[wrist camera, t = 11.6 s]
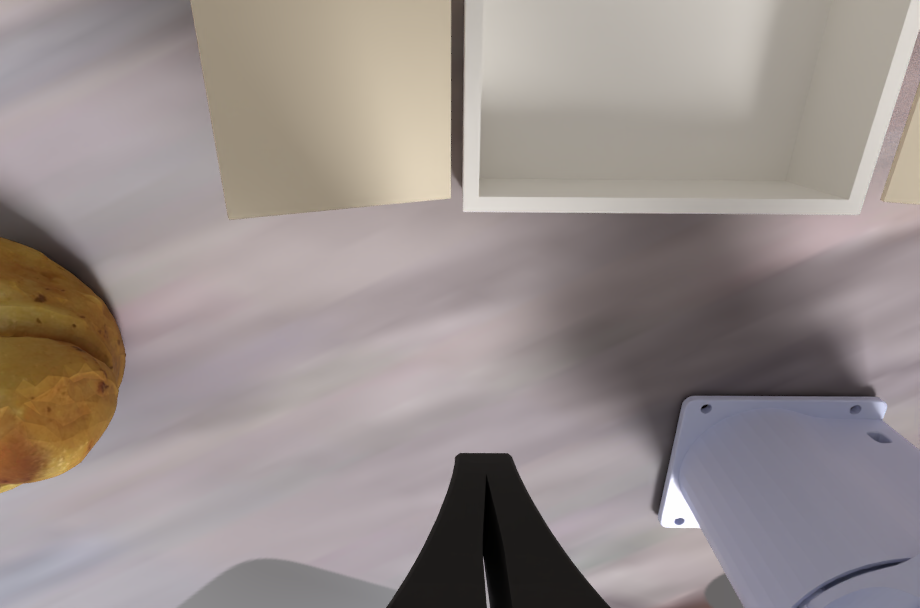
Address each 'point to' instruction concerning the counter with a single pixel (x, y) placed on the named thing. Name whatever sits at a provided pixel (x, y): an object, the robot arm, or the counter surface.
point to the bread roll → (52, 367)
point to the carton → (679, 104)
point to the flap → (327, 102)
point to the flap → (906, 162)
